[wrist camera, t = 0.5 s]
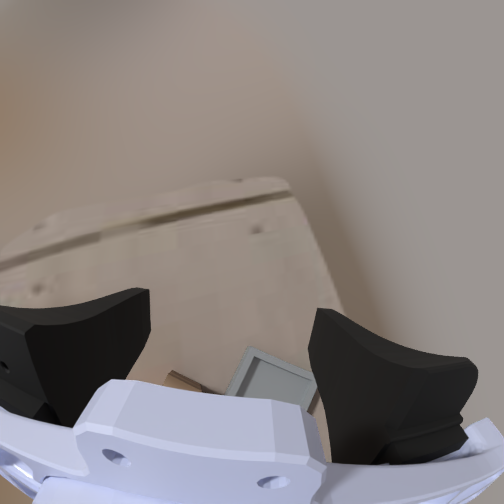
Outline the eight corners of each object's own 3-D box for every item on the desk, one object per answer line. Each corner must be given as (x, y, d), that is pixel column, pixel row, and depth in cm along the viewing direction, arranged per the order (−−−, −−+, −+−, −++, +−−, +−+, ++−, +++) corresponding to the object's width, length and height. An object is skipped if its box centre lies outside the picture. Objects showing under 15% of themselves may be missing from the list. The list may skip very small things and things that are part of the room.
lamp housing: (167, 456, 28) (164, 476, 21) (134, 440, 27) (123, 457, 21) (204, 386, 32) (207, 393, 26) (170, 369, 32) (165, 372, 26)
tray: (285, 442, 31) (289, 446, 30) (213, 417, 31) (214, 420, 29) (316, 375, 36) (321, 376, 34) (247, 346, 36) (250, 345, 34)
